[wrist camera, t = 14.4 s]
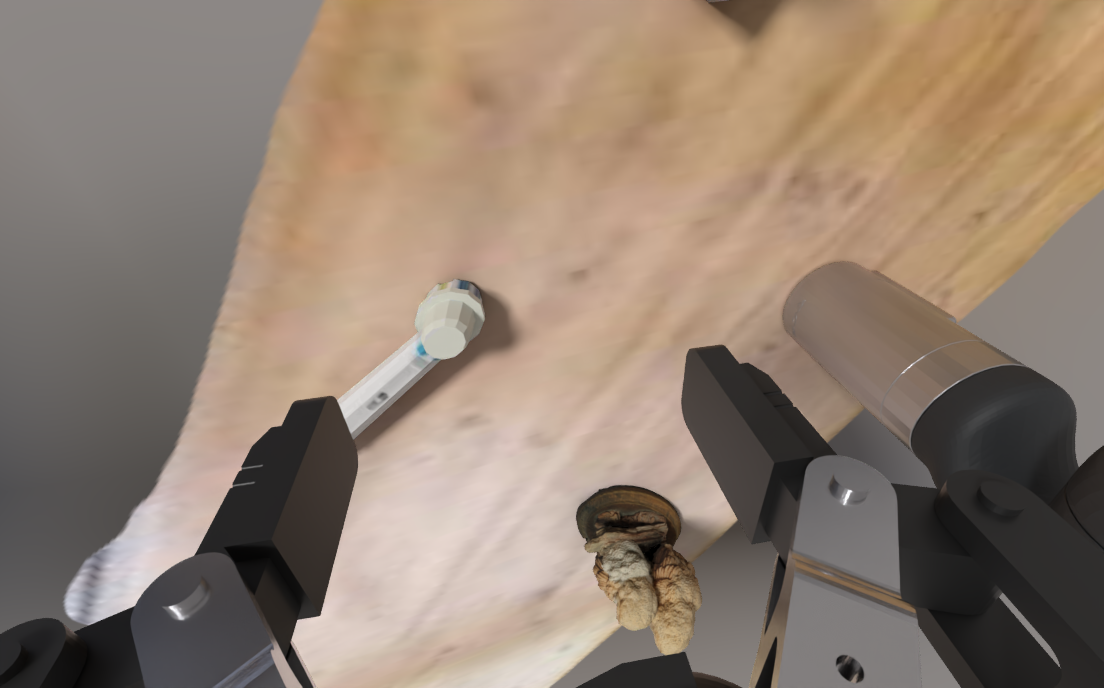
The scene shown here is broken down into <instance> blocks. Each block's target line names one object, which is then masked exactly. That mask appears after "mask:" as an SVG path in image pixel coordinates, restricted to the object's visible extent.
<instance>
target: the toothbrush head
mask: <svg viewBox="0 0 1104 688" xmlns="http://www.w3.org/2000/svg"><path fill="white" fill-rule="evenodd" d="M484 320H485V312H484V308H483V305H482V299H481V295H480V292H479V290H478V289H477V288H476V287H475V286H473V285H472V284H471V283H470V282H468V281H462V280H457V279H454V280H453V281H451V282H448V283H444V284H441V285H440V284H439V283H438V284H437V285H436V286H435V287H434V288H433V289H432V290H431V291H430V292H429V293H428V295H427V298H426V299H425V300H424V301H423V302H422V303H421V304H420V305H419V308H418V312H417V315H416V319H415V323H414V324H415V327H416V329H417V332H418V333H417V334H416V335H414V336H413V337H412V338H411V339H410V340H408V341H407V342H406V343H405V344H404V345H402V346H401V347H400V348H399V349H398V350H396V351H395V352H394V353H393V354H392V355H391V356H389V357H388V358H387V359H386V360H385V361H383V362H382V363H381V364H380V365H379V366H377V367H376V368H375V369H374V370H373V371H371V372H370V373H369V374H368V375H367V376H365V377H364V378H363V379H362V380H361V381H359V382H358V383H357V384H356V385H355V386H354V387H352V388H351V389H350V390H349V391H348V392H346V393H345V394H344V395H343V396H342V397H340V398H339V399H338V400H337V401H338V404H339V406H340V408H341V411H342V413H343V416H344V418H345V421H346V423H347V426H348V428H349V431H350V433H351V436H352V438H353V440H354V439H355V438H356V437H357V436H358V435H359V434H360V433H361V432H362V431H364V430H365V429H366V428H367V427H368V426H369V425H370V424H371V423H372V422H373V421H375V420H376V419H377V418H378V417H379V416H380V415H381V414H382V413H383V412H384V411H386V410H387V409H388V408H389V407H390V406H391V405H392V404H393V403H394V402H395V401H396V400H398V399H399V398H400V397H401V396H402V395H403V394H404V393H405V392H406V391H407V390H409V389H410V388H411V387H412V386H413V385H414V384H415V383H416V382H417V381H418V380H420V379H421V378H422V377H423V376H424V375H425V374H426V373H427V372H428V371H429V370H431V369H432V368H433V367H434V366H435V365H436V364H437V363H438V362H439V361H440V360H442V359H448V358H452V357H455V356H457V355H458V354H459V353H460V352H461V351H463V350H464V349H465V348H466V347H467V345H468V342H470V341H471V340H472V339H473V338H474V337H476V336H477V335H478V334H479V333H480V330H481V328H482V325H483V322H484Z"/></svg>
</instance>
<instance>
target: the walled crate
mask: <svg viewBox="0 0 1104 688" xmlns="http://www.w3.org/2000/svg"><path fill="white" fill-rule="evenodd" d="M707 1H708V2H709V3H710V2H718V1H727V0H707Z"/></svg>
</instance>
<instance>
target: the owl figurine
mask: <svg viewBox="0 0 1104 688" xmlns="http://www.w3.org/2000/svg"><path fill="white" fill-rule="evenodd" d="M576 521H577V525H578V529H579V532H580V534H581V535H582V537H583V538H585V539H586V541H587V543H586V544H585V546H584V547H585V550H586V551H587V552H589V553H593V552H594V553H595V552H597V555H596V557H595V558H596V559H595V566H594V568H593V572H594V574H595V575H596V578H597V581H598V586H599V587H600V589H601V590H604V592H605V594H606V596H607V597H608V598H609V599H610V600H611V601H613V602H614V603H616V604H617V620H618V622H619V624H621V625H623V626H624V627H626V628H627V629H629V630H633V631H635V630H638V629H644V628H647V626H650V627H651V630H652V631H653V633H654V637H655V642H656V645H657V646H658V649H659V650H660V652H661V653H663V654H665V655H670V654H675V653H680V652H681V651H682V650H683V649H685V648H686V647H687V646H688V644H689V641H690V639H691V638H692V636H693V632H694V622H695V611H697V610H698V609H699V608H700V606H701V603H702V596H701V592H700V588H699V585H698V580H697V578H695V570H694V567H693V565H692V564H691V563H690V562H687V561H686V559H685V558H684V557H683V556H682V555H681V554H680V553H678V552H676V551H675V550H673V546H674V544H675V542H676V540H677V539H678V537H679V535H680V532H681V522H680V519H679V516H678V514H677V512H676V510H675V509H674V508H673V506H672V505H671V504H670V503H669V502H668V501H667V500H665V499H664V498H663V497H661V496H660V495H657V494H656V493H654V492H652V491H650V490H648V489H645V488H640V487H635V486H613V487H609V488H608V489H602V490H599V491H598V492H597V493H595V494H594V495H592V496H591V497H590V498H588V499H587V500H586V501H585V502H584V503H582V504H581V505H580V506H579V507H578V510H577V514H576ZM611 526H619V527H622V528H618V527H611ZM623 527H629V528H624V529H623ZM655 545H657V547H654V546H655ZM651 547H653V548H651ZM650 548H651V549H650Z"/></svg>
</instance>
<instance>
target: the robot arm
mask: <svg viewBox="0 0 1104 688" xmlns="http://www.w3.org/2000/svg"><path fill="white" fill-rule="evenodd" d="M783 324H784V327H785V329H786V331H787V332H788V334H789V335H790V336H791V337H792V338H793V339H794V340H795V341H796V342H797V343H798V344H800V345H801V346H802V347H803V348H804V349H805V350H806V351H807V352H808V353H809V354H810V355H811V356H812V357H813V358H814V359H815V360H816V361H817V362H818V363H819V364H820V365H821V366H822V367H823V368H824V369H825V370H826V371H827V372H828V373H830V374H831V375H832V376H833V377H834V378H835V379H836V380H837V381H838V382H839V383H840V384H841V385H842V386H843V387H844V388H845V389H846V390H847V391H848V392H849V393H850V394H851V395H853V396H854V397H855V398H856V399H857V400H858V401H859V402H860V403H861V404H862V405H863V406H864V407H865V408H866V409H867V410H868V411H869V412H870V413H871V414H872V415H873V416H874V417H876V418H877V419H878V420H879V421H880V422H881V423H882V424H883V425H884V426H885V427H886V428H887V429H888V430H889V431H891V433H892V434H893V435H895V436H896V437H897V438H898V439H899V440H900V441H901V442H902V443H903V444H904V445H905V446H906V447H907V448H908V449H909V450H910V451H911V452H912V453H913V454H915V455H916V457H918V459H920V460H921V461H922V462H923V463H924V464H925V465H926V466H927V468H928V469H929V471H930V474H931V476H932V479H933V481H934V484H935V486H936V487H937V489H936V488H927V487H918V486H909V485H900V484H892V483H890V482H889V481H888V480H887V479H886V478H885V477H884V476H883V475H882V474H881V473H880V472H878V471H877V470H875V469H874V468H872V467H871V466H869V465H867V464H865V463H863V462H861V461H858V460H855V459H852V458H849V457H844V456H838V455H837V454H836V453H835V452H834V451H833V450H832V448H831V447H830V446H829V445H828V444H827V443H826V441H825V440H824V439H823V438H822V437H821V436H820V435H819V433H818V432H817V431H816V430H815V429H814V428H813V426H812V425H811V424H810V423H809V422H808V421H807V419H806V418H805V417H804V416H803V415H802V414H801V412H800V411H799V410H798V409H797V408H796V407H793V403H792V402H791V401H790V400H789V399H788V397H787V396H786V395H785V394H782V390H781V389H780V388H779V387H778V386H777V385H776V383H775V382H774V381H773V380H772V379H771V378H770V377H769V375H767V374H766V373H764V372H762V371H761V370H759V369H757V368H756V367H754V366H753V365H751V364H749V363H743V364H739V363H738V361H737V360H736V359H735V358H734V356H733V355H732V354H731V353H730V351H729V350H728V349H727V348H726V347H725V346H724V345H715V346H707V347H700V348H692V349H689V351H688V353H687V356H686V364H685V373H684V382H683V391H682V400H681V404H682V412H683V417H684V420H685V423H686V425H687V427H688V429H689V431H690V433H691V435H692V436H693V438H694V440H695V442H696V444H697V446H698V447H699V449H700V451H701V453H702V455H703V457H704V458H705V460H706V462H707V464H708V466H709V468H710V469H711V471H712V473H713V475H714V477H715V479H716V480H717V482H718V484H719V486H720V488H721V490H722V491H723V493H724V495H725V497H726V499H727V501H728V502H729V504H730V506H731V508H732V510H733V512H734V513H735V515H736V517H737V519H738V521H739V522H740V524H741V526H742V528H743V530H744V532H745V533H746V535H747V537H748V539H749V541H750V543H751V544H756V543H761V542H767V541H772V543H773V545H774V547H775V548H776V550H777V552H778V554H777V557H776V560H775V564H774V570H773V575H772V581H771V586H770V591H769V597H768V601H767V607H766V612H765V617H764V623H763V628H762V633H761V639H760V644H759V648H758V652H757V657H756V660H755V664H754V667H753V671H752V676H751V680H750V684H749V688H922V681H921V663H920V648H919V630H918V626H919V627H920V629H922V631H923V633H924V634H925V636H926V637H927V639H928V640H929V641H930V643H931V644H932V646H933V647H934V649H935V650H936V652H937V653H938V655H939V656H940V658H941V659H942V660H943V662H944V663H945V665H946V666H947V668H948V669H949V671H950V672H951V673H952V675H953V676H954V678H955V679H956V681H957V682H958V684H959V685H960V687H961V688H1104V446H1102V447H1101V448H1100V449H1098V450H1097V451H1096V452H1094V454H1092V455H1091V456H1090V457H1089V458H1088V459H1087V460H1086V461H1085V462H1084V463H1083V464H1082V465H1081V466H1080V467H1078V464H1077V460H1076V454H1075V432H1076V420H1077V419H1076V408H1075V405H1074V403H1073V400H1072V399H1071V397H1070V396H1069V394H1067V392H1066V391H1065V390H1064V389H1062V388H1061V387H1060V386H1058V385H1057V384H1055V383H1054V382H1052V381H1051V380H1049V379H1047V378H1046V377H1044V376H1042V375H1041V374H1039V373H1037V372H1036V371H1034V370H1032V369H1031V368H1029V367H1027V366H1026V365H1024V364H1022V363H1021V362H1019V361H1017V360H1016V359H1014V358H1012V357H1011V356H1009V355H1007V354H1006V353H1004V352H1002V351H1001V350H999V349H997V348H996V347H994V346H992V345H990V344H989V343H987V342H985V341H983V340H982V339H980V338H979V337H977V336H975V335H974V334H972V333H971V332H969V331H967V330H966V329H964V328H962V327H961V326H959V325H957V324H956V319H955V317H953V316H952V315H950V314H949V313H947V312H945V311H944V310H942V309H940V308H939V307H937V306H935V305H934V304H932V303H930V302H928V301H927V300H925V299H923V298H922V297H920V296H918V295H917V294H915V293H913V292H912V291H910V290H908V289H907V288H905V287H903V286H902V285H900V284H898V283H896V282H895V281H893V280H891V279H890V278H888V277H886V276H885V275H883V274H881V273H880V272H878V271H869V270H867V269H865V268H864V267H862V266H860V265H858V264H856V263H853V262H835V263H832V264H828V265H825V266H823V267H821V268H819V269H817V270H815V271H813V272H812V273H811V274H809V275H808V276H806V277H805V278H804V279H803V280H802V281H801V282H800V283H799V284H798V285H797V286H796V287H795V288H794V290H793V291H792V292H791V294H790V296H789V298H788V299H787V301H786V304H785V307H784V311H783ZM357 470H358V455H357V449H356V446H355V443H354V441H353V438H352V436H351V433H350V431H349V428H348V426H347V423H346V421H345V418H344V416H343V413H342V411H341V408H340V406H339V404H338V401H337V400H336V399H335V397H333V396H327V397H319V398H312V399H304V400H297V401H295V402H294V403H293V404H292V405H291V407H290V410H289V412H288V414H287V416H286V418H285V420H284V422H283V424H282V426H278V427H271V428H270V429H269V430H268V431H267V432H266V433H265V434H264V435H263V436H262V437H261V438H260V439H259V440H258V441H257V442H256V443H255V444H254V445H253V446H252V448H251V449H250V451H249V453H248V455H247V457H246V459H245V461H244V463H243V465H242V471H239V472H238V474H237V476H236V478H235V480H234V482H233V488H230V489H229V491H228V493H227V495H226V497H225V499H224V501H223V503H222V505H221V506H220V508H219V510H218V512H217V514H216V516H215V518H214V520H213V522H212V523H211V525H210V527H209V529H208V531H207V533H206V535H205V537H204V539H203V541H202V542H201V544H200V546H199V548H198V550H197V552H196V554H195V555H194V556H193V557H190V558H188V559H185V560H183V561H181V562H179V563H178V564H176V565H174V566H173V567H171V568H170V569H168V570H167V571H165V572H164V573H163V574H161V575H160V576H159V577H158V578H157V579H156V580H155V581H153V582H152V583H151V584H150V585H149V587H148V588H147V589H146V590H145V591H144V592H143V594H142V595H141V597H140V598H139V600H138V601H137V603H136V605H135V606H134V607H132V608H129V609H127V610H125V611H122V612H120V613H117V614H115V615H113V616H110V617H108V618H106V619H103V620H101V621H98V622H96V623H94V624H91V625H89V626H87V627H84V628H82V629H80V630H77V631H75V632H73V631H71V630H70V629H69V628H68V627H67V626H65V625H64V624H63V623H62V622H60V621H59V620H56V619H52V618H42V619H36V620H32V621H28V622H25V623H23V624H20V625H17V626H15V627H13V628H11V629H9V630H7V631H5V632H3V633H2V634H0V688H317V687H316V685H315V683H314V681H313V679H312V677H311V675H310V673H309V671H308V669H307V667H306V665H305V664H304V662H303V660H302V658H301V656H300V654H299V652H298V650H297V648H296V646H295V644H294V643H293V642H292V640H291V639H292V636H293V632H294V629H295V626H296V622H297V620H299V619H305V618H311V617H317V616H320V615H321V611H322V607H323V603H324V599H325V595H326V591H327V587H328V584H329V580H330V576H331V572H332V568H333V564H334V560H335V556H336V553H337V549H338V545H339V541H340V537H341V533H342V529H343V526H344V522H345V518H346V514H347V510H348V506H349V502H350V498H351V495H352V491H353V487H354V483H355V479H356V475H357ZM1002 593H1004V594H1005V595H1006V597H1007V598H1008V599H1009V600H1010V601H1011V602H1012V603H1013V605H1014V606H1015V607H1016V608H1017V609H1018V610H1019V611H1020V612H1021V614H1022V615H1023V616H1024V617H1025V618H1026V619H1027V620H1028V622H1029V623H1030V624H1031V625H1032V626H1033V627H1034V628H1035V630H1036V631H1037V632H1038V633H1039V634H1040V635H1041V636H1042V638H1043V639H1044V640H1045V641H1046V642H1047V643H1048V645H1049V646H1050V647H1051V649H1052V650H1053V652H1054V653H1055V655H1056V657H1057V659H1058V661H1059V664H1060V667H1061V669H1060V667H1058V665H1057V664H1056V663H1055V662H1054V661H1053V659H1052V658H1051V657H1050V656H1049V655H1048V653H1047V652H1046V651H1045V650H1044V649H1043V648H1042V647H1041V646H1040V644H1039V643H1038V642H1037V641H1036V640H1035V638H1034V637H1033V636H1032V635H1031V634H1030V633H1029V632H1028V631H1027V629H1026V628H1025V627H1024V626H1023V625H1022V623H1021V622H1020V621H1019V620H1018V619H1017V618H1016V617H1015V615H1014V614H1013V613H1012V612H1011V611H1010V610H1009V608H1008V607H1007V606H1006V605H1005V604H1004V603H1003V601H1001V599H1000V598H999V596H1000V595H1001V594H1002ZM576 688H742V687H740V686H738V685H736V684H734V683H731V682H728V681H726V680H724V679H721V678H718V677H715V676H711V675H708V674H703V673H698V672H692V670H691V668H690V665H689V662H688V659H687V656H686V653H685V652H681V653H675V654H670V655H665V656H660V657H654V658H649V659H644V660H638V661H633V662H628V663H622V664H620V665H618V666H616V667H614V668H612V669H610V670H609V671H607V672H605V673H603V674H601V675H599V676H597V677H595V678H593V679H591V680H589V681H588V682H586V683H584V684H582V685H580V686H578V687H576Z"/></svg>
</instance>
